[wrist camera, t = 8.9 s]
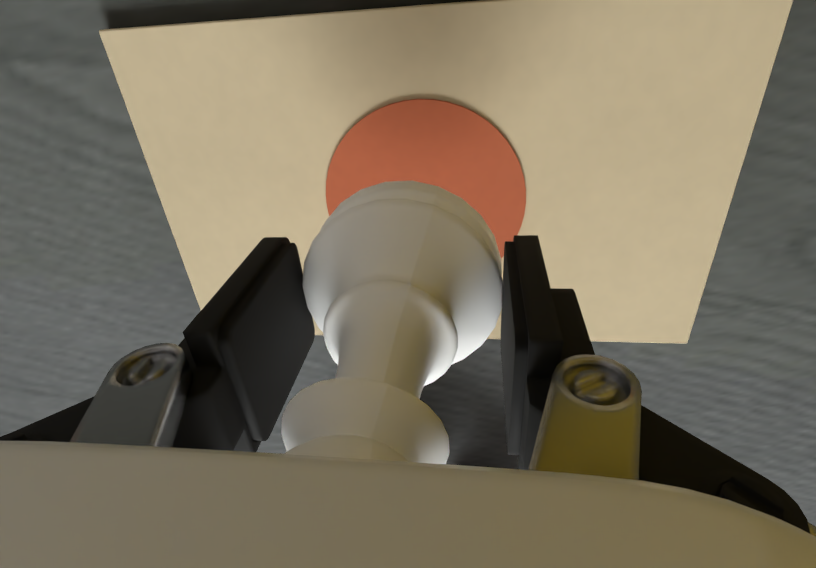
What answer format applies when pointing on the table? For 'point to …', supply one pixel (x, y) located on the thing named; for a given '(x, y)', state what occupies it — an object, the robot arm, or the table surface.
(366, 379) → the chess pawn
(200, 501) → the robot arm
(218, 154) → the mat
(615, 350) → the table surface
